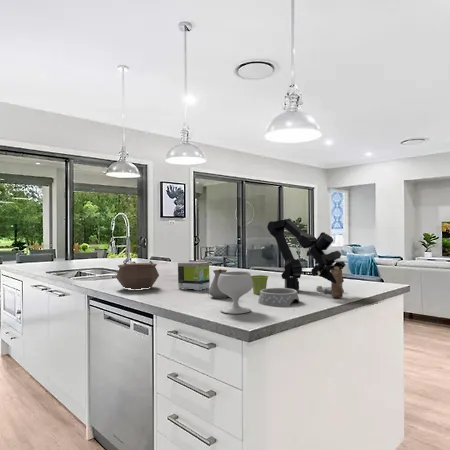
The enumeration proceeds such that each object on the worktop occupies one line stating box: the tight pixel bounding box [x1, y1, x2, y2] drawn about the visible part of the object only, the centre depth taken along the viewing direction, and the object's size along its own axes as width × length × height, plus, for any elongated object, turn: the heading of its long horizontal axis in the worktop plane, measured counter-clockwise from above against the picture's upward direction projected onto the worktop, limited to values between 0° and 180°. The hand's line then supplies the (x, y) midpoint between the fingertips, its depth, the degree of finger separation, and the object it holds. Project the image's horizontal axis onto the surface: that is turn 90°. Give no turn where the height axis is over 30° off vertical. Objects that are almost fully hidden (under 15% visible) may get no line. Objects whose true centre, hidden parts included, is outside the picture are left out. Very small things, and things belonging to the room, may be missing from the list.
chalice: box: [217, 271, 253, 315], centre depth 150 cm, size 14×14×15 cm
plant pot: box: [251, 274, 269, 295], centre depth 190 cm, size 9×9×9 cm
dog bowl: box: [257, 287, 301, 307], centre depth 166 cm, size 17×18×5 cm
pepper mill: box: [330, 266, 344, 299], centre depth 173 cm, size 5×5×14 cm
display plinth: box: [316, 285, 345, 295], centre depth 190 cm, size 10×10×2 cm
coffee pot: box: [208, 268, 230, 299], centre depth 177 cm, size 21×12×15 cm, turn 0°
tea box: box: [177, 261, 211, 291], centre depth 210 cm, size 15×10×15 cm
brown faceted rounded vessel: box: [115, 259, 160, 289], centre depth 214 cm, size 24×24×16 cm
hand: (339, 282), depth 172 cm, fingers closed on pepper mill, 5 cm apart
